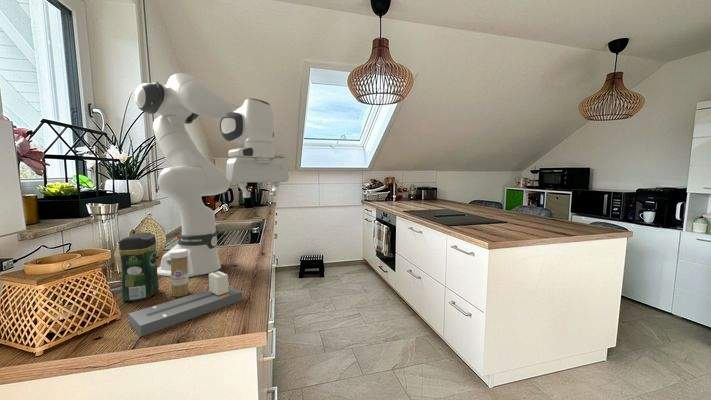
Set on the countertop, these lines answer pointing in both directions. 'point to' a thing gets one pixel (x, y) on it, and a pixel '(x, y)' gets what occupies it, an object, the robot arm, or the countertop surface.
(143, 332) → the slider console
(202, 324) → the countertop surface
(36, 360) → the countertop surface
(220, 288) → the fader tab
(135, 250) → the coffee jar
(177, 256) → the sprinkles bottle
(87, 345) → the countertop surface
